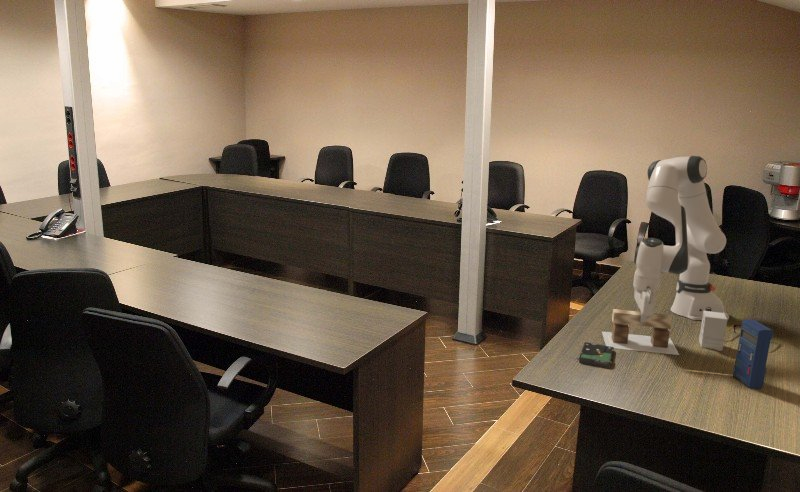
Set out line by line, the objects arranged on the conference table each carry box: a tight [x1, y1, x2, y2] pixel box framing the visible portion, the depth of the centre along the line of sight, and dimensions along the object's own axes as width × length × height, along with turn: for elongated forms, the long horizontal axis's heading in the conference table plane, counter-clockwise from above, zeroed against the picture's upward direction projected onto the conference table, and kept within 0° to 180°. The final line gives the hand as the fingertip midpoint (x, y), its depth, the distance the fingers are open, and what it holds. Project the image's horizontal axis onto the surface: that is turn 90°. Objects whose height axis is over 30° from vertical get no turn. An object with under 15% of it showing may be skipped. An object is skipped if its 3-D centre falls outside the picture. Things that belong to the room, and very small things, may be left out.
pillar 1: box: [611, 322, 630, 344], centre depth 235 cm, size 5×5×6 cm
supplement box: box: [698, 311, 728, 352], centre depth 233 cm, size 7×7×13 cm
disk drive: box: [578, 341, 615, 369], centre depth 221 cm, size 10×3×15 cm
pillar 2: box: [651, 327, 671, 348], centre depth 232 cm, size 5×5×6 cm
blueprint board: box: [601, 331, 680, 356], centre depth 234 cm, size 25×16×1 cm, turn 79°
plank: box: [611, 308, 673, 330], centre depth 232 cm, size 20×4×4 cm, turn 78°
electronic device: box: [732, 318, 774, 390], centre depth 204 cm, size 10×5×20 cm, turn 5°
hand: (641, 319), depth 232 cm, fingers closed on plank, 4 cm apart
